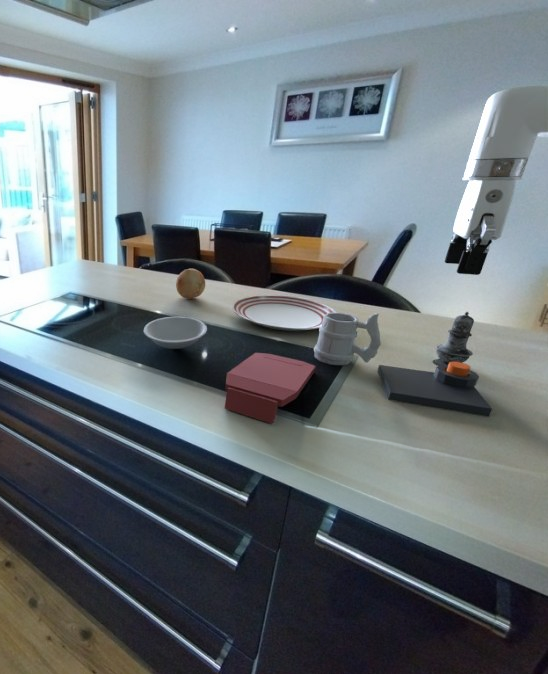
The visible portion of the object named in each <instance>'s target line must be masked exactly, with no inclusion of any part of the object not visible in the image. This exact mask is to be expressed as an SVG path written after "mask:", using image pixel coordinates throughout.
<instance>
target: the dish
mask: <svg viewBox="0 0 548 674" xmlns="http://www.w3.org/2000/svg"><path fill="white" fill-rule="evenodd" d="M207 332H208V327H207V324H206V323H205V322H203V321H201V320H199V319H196V318H193V317H190V316H189V317H187V316H165V317H161V318H157V319H154V320H152V321H150V322H148V323H147V324H146V325H145V326H144V328H143V333H144V335H145V336H146V337H147V338H149V339H150V340H151V341H152V342H153V343H154V344H155V345H157V346H158V347H161V348H163V349H167V350H168V349H169V350H180V349H184V348H188V347H190V346H192V345H194V344H195V343H196V342H198V341H199V340H200V339H201V338H203V337H204V336H205V335H206V334H207Z"/></svg>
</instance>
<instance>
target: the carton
mask: <svg viewBox="0 0 548 674" xmlns="http://www.w3.org/2000/svg"><path fill="white" fill-rule="evenodd" d="M315 371H316V365H314V364H312V363H308V362H306V361H304V360H299V359H294V358H290V357H285V356H281V355H277V354H273V353H265V352H254V353H253V354H252V355H250V356H249V357H247V358H246V359H244V360H243V361H242V362H240V363H239V364H237V365H236V366H235V367H233V368H232V369H230V370H229V371H228V372H227V373H226V378H225V390H224V391H225V392H226V397H225V403H224V409H225V410H228V409H229V411H232V412H233V413H237V414H240V415H243V416H246V417H250V418H253V419H256V420H259V421H263V422H266V423H269V424H272V425H273V423H274V422H275V421H276V418H277V414H278V413H277V412H278V409H279V407H280V408H283V407H284V406H286V405H288V404H289V403H291V402H292V401H294V400H296V399H297V398H298V396H299V395H300V393H301V392H302V391H303V389H304V388H305V387H306V384H307V383H308V382H309V380H310V379H311V378H312V376H313V374H314V373H315ZM274 420H275V421H274Z"/></svg>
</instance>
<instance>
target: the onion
mask: <svg viewBox="0 0 548 674" xmlns="http://www.w3.org/2000/svg"><path fill="white" fill-rule="evenodd" d="M205 288H206V280H205V277H204V274H202V272H201V271H200V270H198V269H195V268H188V269H184V270H183V271H181V272H180V273H179V274H178V276H177V277H176V280H175V289H176V291H177V293H178V295H180V296H181V297H182V298H184V299H189V300H191V299H194V298H198V297H200V296H201V295H202V294H203V293H204V291H205Z"/></svg>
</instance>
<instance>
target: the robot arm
mask: <svg viewBox="0 0 548 674" xmlns="http://www.w3.org/2000/svg"><path fill="white" fill-rule="evenodd" d="M537 137H538V138H544V139H548V86H546V85H527V86H526V85H525V86H517V87H512V88H507V89H502V90H499V91H497V92H494V93H493V94H491V95H490V97H489V98H488V99H487V100H486V103H485V106H484V109H483V112H482V116H481V118H480V122H479V125H478V128H477V131H476V135H475V138H474V140H473V144H472V147H471V151H470V154H469V156H468V160H467V163H466V167H465V170H464V174H463V177H462V179H461V180H462V181H468V183H467V185H466V188H465V190H464V193H463V196H462V198H461V202H460V204H459V207H458V210H457V212H456V216H455V219H454V224H453V227H452V231H453V233H454V234H452V237H451V240H450V243H449V245H448V249H447V251H446V255H445V257H444V263H445V264H449V265H450V264H452V265H457V268H456V273H457V274H460V275H473V276H480V274H481V273H482V270H483V268H484V264H485V262H486V259H487V256H488V253H489V251H490V249H491V244H493V241H497V240H498V239H500V238H501V237H502V234H503V231H504V228H505V225H506V222H507V219H508V215H509V212H510V208H511V205H512V201H513V199H514V194H515V193H514V192H515V188H516V185H517V181H520V180H522V178H523V175H524V173H525V171H526V170H525V169H526V167H527V164H528V162H529V159H530V156H531V153H532V151H533V148H534V145H535V143H536V140H537Z"/></svg>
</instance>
